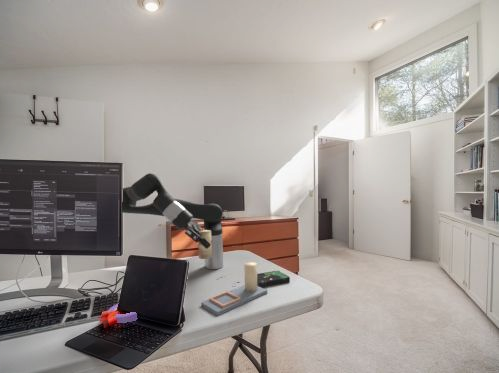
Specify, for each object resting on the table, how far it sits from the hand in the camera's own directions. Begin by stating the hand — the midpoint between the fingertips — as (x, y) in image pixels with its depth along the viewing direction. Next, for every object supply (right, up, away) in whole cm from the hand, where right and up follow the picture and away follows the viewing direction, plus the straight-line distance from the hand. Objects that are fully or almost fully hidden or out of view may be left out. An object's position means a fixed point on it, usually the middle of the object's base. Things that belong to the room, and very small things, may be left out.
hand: (209, 244), depth 99 cm
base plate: (+10, -20, -3) cm, 22 cm away
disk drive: (+24, -20, +14) cm, 34 cm away
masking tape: (-25, -21, -15) cm, 36 cm away
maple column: (-2, -5, 0) cm, 5 cm away
